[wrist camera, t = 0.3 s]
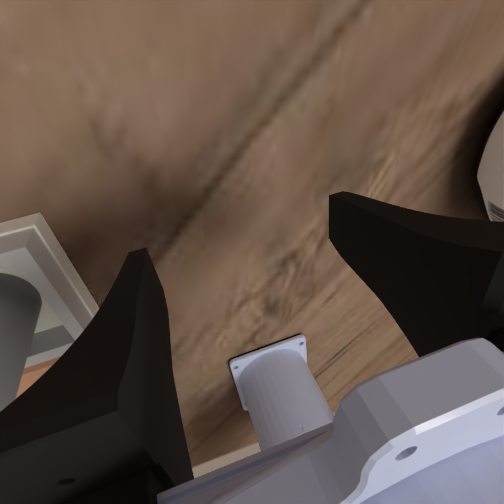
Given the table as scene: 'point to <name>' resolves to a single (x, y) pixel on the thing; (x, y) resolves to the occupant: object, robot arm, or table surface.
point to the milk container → (492, 172)
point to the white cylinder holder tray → (36, 304)
